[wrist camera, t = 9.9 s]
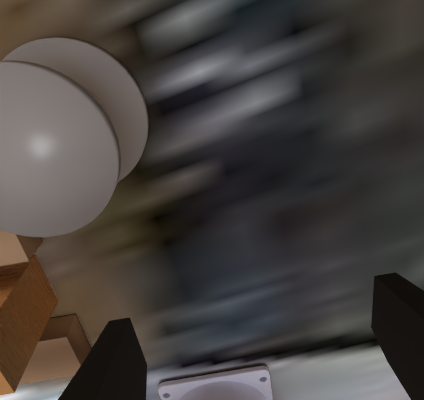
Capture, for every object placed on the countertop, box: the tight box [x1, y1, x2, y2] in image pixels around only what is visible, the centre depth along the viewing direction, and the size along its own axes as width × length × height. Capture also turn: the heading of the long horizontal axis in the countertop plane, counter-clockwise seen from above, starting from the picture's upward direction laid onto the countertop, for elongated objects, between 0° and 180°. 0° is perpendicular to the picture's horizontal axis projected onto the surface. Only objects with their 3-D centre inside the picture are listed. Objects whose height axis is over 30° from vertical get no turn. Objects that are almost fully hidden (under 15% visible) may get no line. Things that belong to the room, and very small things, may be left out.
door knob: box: [0, 37, 149, 237], centre depth 14 cm, size 7×7×6 cm
